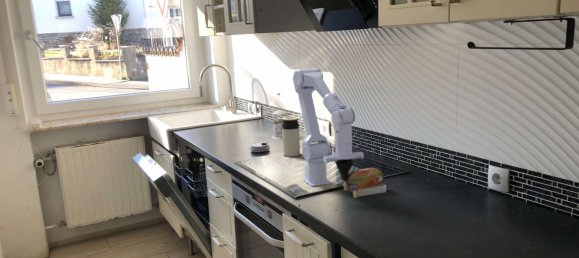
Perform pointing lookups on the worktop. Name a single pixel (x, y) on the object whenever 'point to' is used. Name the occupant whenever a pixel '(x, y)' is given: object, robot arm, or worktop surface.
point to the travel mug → (291, 136)
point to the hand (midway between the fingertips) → (344, 179)
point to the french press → (278, 124)
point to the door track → (367, 190)
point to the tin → (364, 178)
